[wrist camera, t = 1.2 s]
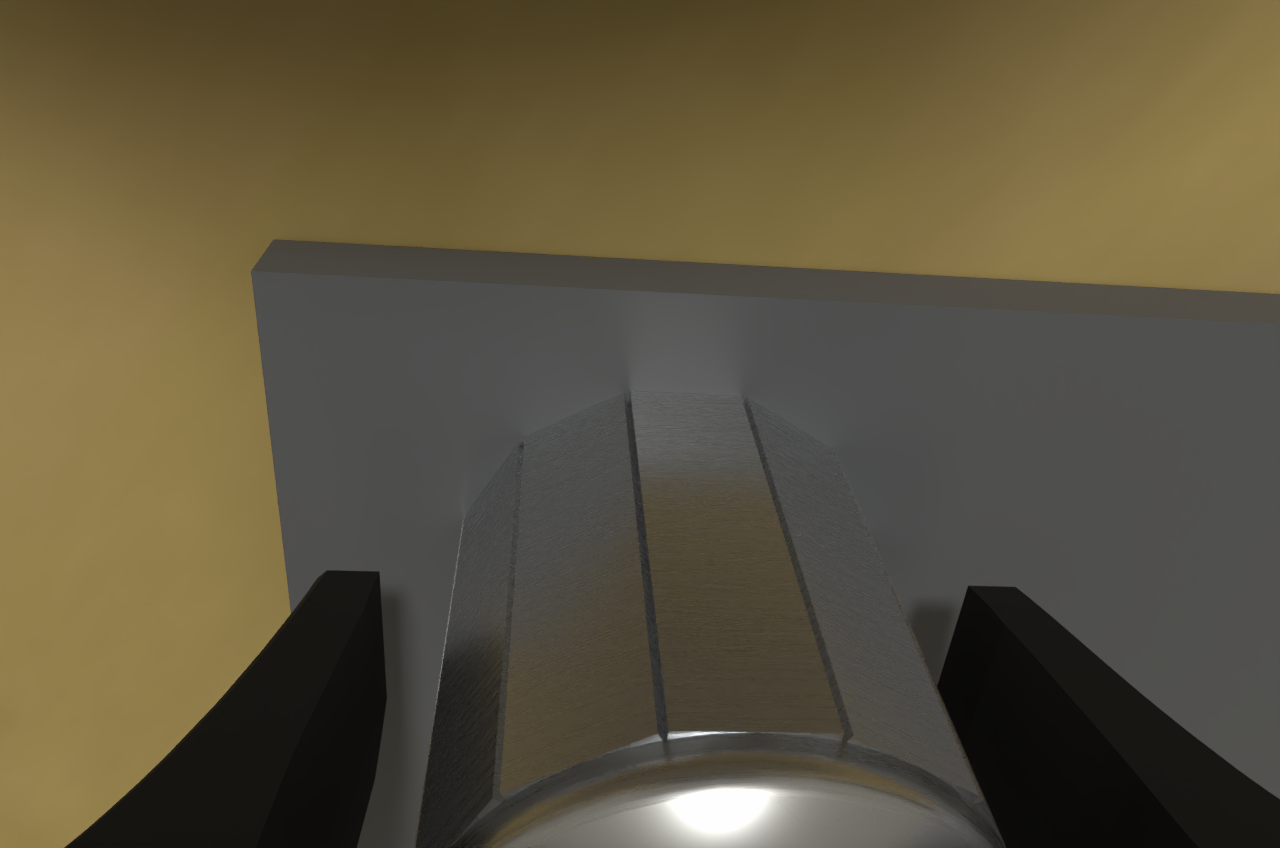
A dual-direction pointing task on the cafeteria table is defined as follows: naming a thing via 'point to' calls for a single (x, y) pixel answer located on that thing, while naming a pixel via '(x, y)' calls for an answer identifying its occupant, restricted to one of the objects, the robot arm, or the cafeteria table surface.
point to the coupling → (685, 650)
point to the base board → (830, 412)
